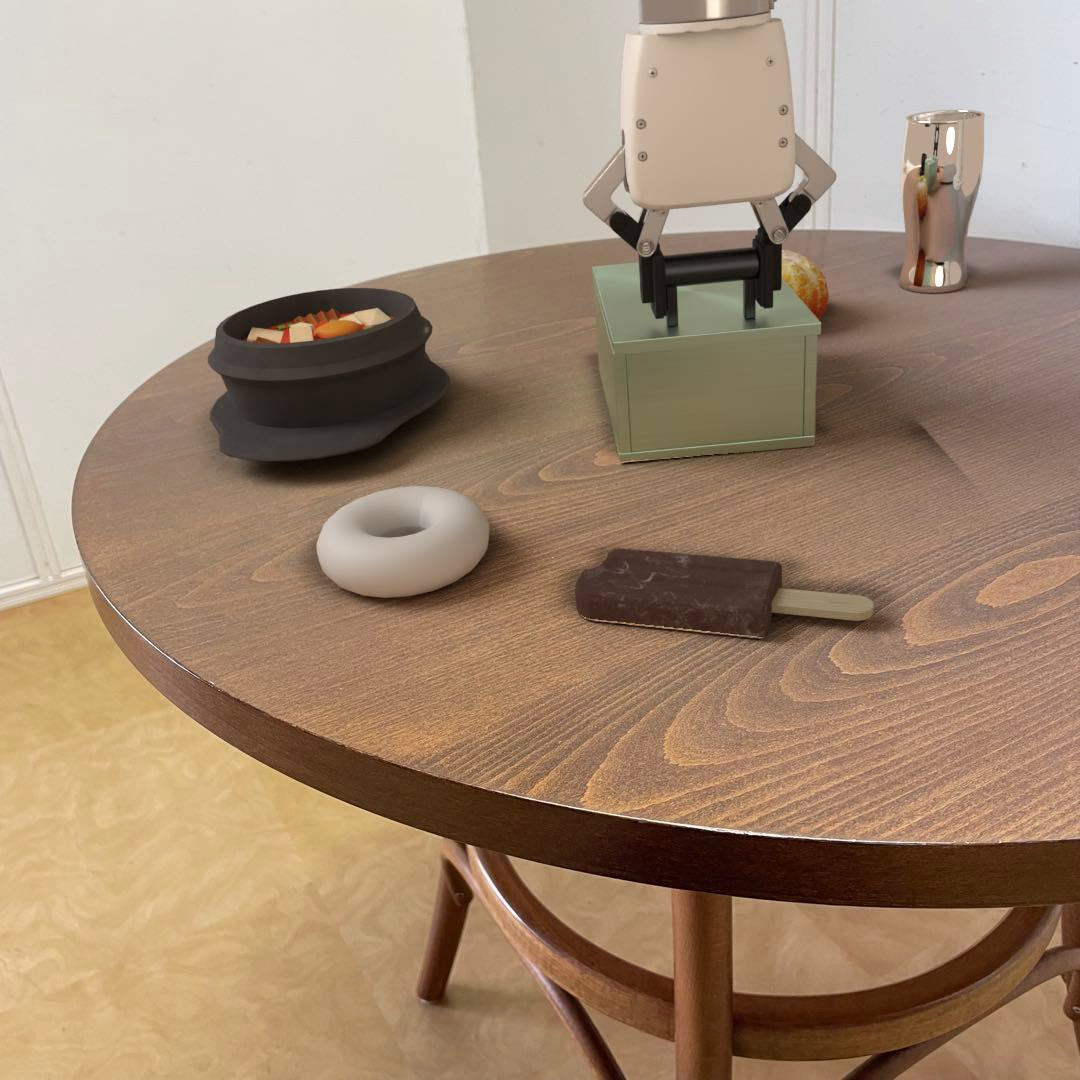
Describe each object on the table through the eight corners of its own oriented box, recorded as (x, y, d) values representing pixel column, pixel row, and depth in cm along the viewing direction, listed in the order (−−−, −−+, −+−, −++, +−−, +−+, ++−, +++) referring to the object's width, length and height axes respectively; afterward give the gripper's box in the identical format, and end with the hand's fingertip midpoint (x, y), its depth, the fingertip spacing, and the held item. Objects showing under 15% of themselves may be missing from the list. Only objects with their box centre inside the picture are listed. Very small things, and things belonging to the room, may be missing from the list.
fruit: (813, 342, 93) (786, 249, 90) (701, 367, 99) (672, 280, 96) (851, 301, 101) (827, 214, 98) (745, 326, 107) (720, 245, 105)
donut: (297, 610, 62) (472, 609, 60) (284, 556, 61) (462, 553, 59) (354, 527, 71) (508, 524, 69) (344, 477, 70) (501, 473, 68)
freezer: (815, 446, 75) (818, 333, 72) (620, 464, 76) (613, 353, 72) (758, 356, 92) (758, 261, 89) (599, 371, 93) (592, 277, 89)
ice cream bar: (877, 596, 58) (598, 571, 63) (878, 569, 57) (596, 545, 62) (867, 652, 54) (569, 620, 59) (869, 623, 53) (566, 593, 58)
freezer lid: (821, 334, 71) (823, 250, 69) (614, 354, 71) (608, 271, 69) (758, 260, 89) (758, 191, 86) (592, 276, 89) (588, 208, 87)
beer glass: (883, 291, 105) (891, 122, 98) (908, 272, 110) (918, 109, 103) (959, 297, 101) (973, 121, 95) (981, 277, 106) (997, 108, 99)
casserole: (429, 477, 77) (412, 359, 73) (165, 493, 78) (134, 378, 74) (470, 358, 99) (458, 262, 95) (263, 372, 100) (243, 279, 96)
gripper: (838, -17, 68) (829, 280, 76) (551, 12, 68) (573, 305, 76) (874, -14, 61) (860, 311, 69) (556, 18, 61) (580, 338, 70)
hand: (710, 305), depth 73 cm, fingers closed on freezer lid, 6 cm apart
